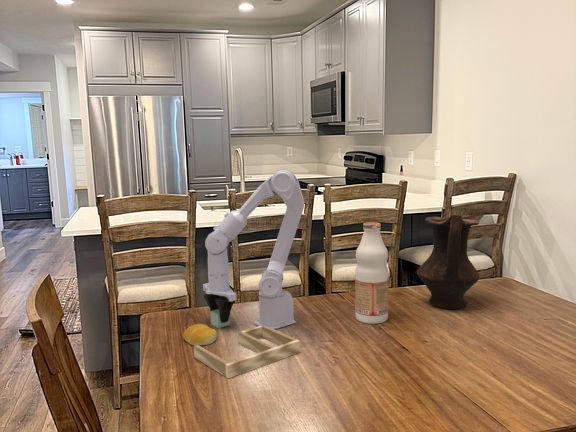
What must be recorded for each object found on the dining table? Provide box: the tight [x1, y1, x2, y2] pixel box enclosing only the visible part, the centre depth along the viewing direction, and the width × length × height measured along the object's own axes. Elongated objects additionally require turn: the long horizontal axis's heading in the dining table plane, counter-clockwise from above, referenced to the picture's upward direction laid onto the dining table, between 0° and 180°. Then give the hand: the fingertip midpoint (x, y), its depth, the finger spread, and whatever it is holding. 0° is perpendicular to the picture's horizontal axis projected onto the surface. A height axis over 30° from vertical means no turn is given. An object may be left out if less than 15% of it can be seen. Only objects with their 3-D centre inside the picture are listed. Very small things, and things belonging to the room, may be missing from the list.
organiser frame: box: [193, 325, 301, 379], centre depth 128 cm, size 21×15×3 cm
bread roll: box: [182, 323, 218, 347], centre depth 138 cm, size 8×9×4 cm
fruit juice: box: [354, 221, 389, 325], centre depth 149 cm, size 9×9×28 cm
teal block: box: [209, 309, 231, 329], centre depth 149 cm, size 4×4×4 cm
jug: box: [416, 213, 480, 310], centre depth 159 cm, size 21×18×30 cm
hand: (220, 319), depth 149 cm, fingers closed on teal block, 4 cm apart
